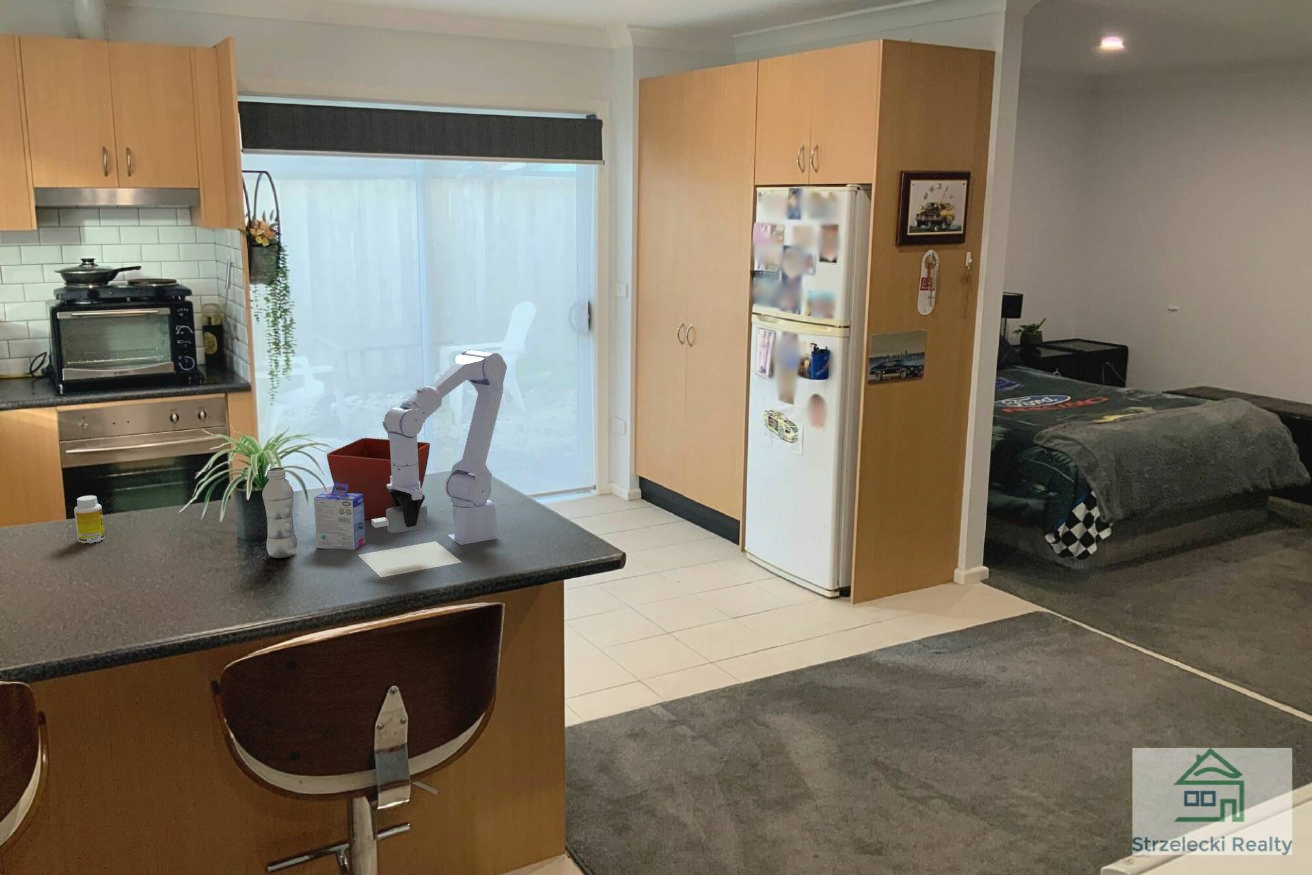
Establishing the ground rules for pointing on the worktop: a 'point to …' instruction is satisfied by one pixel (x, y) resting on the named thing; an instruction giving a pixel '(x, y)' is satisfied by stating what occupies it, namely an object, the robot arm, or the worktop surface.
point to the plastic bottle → (279, 514)
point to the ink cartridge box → (339, 519)
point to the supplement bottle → (89, 520)
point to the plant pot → (370, 472)
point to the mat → (408, 559)
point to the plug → (401, 520)
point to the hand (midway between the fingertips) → (407, 523)
